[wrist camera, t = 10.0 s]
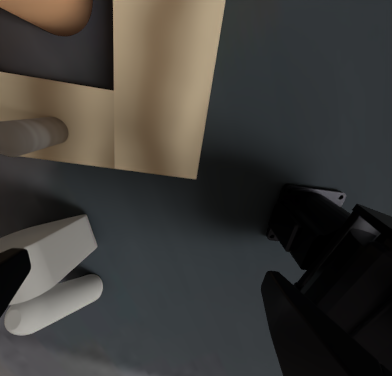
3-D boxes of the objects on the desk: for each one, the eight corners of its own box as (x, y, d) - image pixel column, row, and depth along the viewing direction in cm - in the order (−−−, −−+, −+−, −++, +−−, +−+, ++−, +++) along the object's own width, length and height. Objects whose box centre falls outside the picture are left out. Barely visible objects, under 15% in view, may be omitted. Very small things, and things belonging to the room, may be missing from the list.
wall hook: (66, 301, 24) (-27, 403, 14) (35, 223, 22) (-95, 277, 13) (128, 287, 24) (77, 383, 14) (101, 207, 22) (20, 250, 12)
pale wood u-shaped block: (233, -62, 13) (268, -191, 7) (195, 173, 19) (198, 202, 13) (-81, -139, 11) (-356, -388, 5) (-9, 146, 17) (-103, 166, 12)
